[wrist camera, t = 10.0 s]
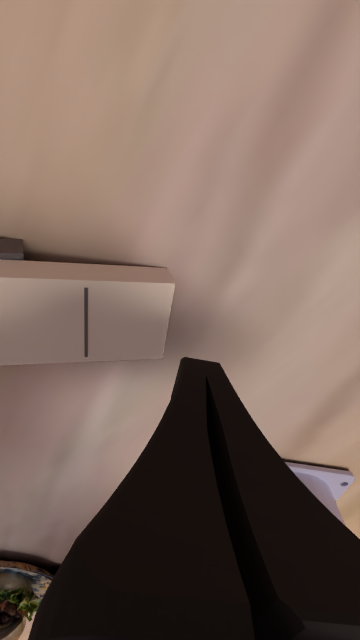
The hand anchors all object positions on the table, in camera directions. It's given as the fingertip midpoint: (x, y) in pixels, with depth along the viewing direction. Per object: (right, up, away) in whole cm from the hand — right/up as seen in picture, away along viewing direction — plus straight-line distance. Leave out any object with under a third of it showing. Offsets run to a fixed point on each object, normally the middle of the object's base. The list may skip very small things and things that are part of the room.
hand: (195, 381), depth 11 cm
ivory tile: (-1, +2, +3) cm, 4 cm away
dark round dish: (-18, -24, +21) cm, 37 cm away
